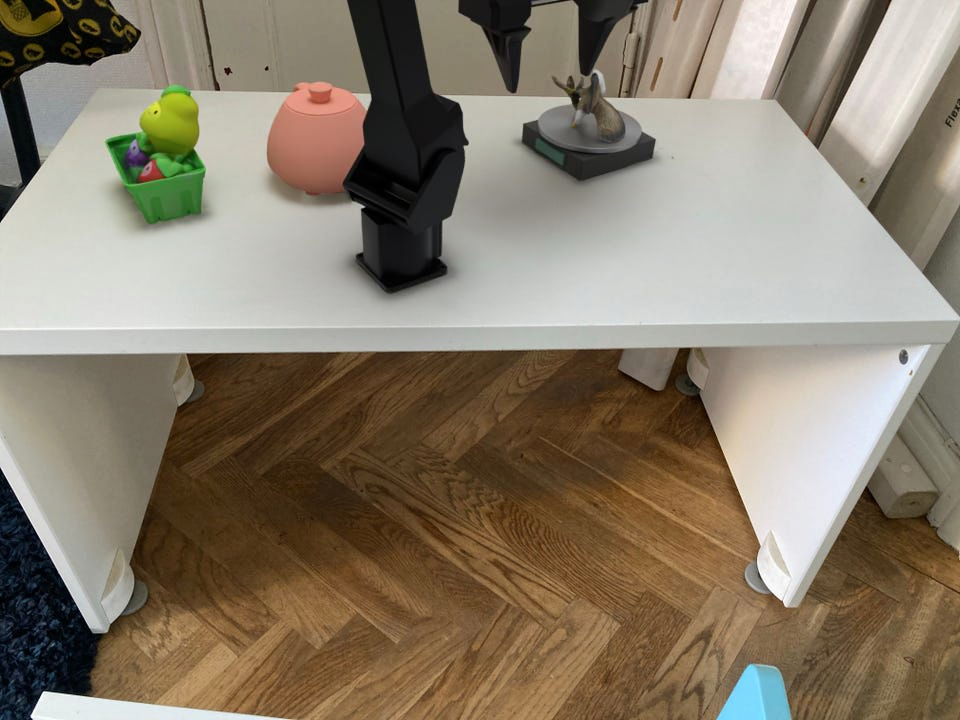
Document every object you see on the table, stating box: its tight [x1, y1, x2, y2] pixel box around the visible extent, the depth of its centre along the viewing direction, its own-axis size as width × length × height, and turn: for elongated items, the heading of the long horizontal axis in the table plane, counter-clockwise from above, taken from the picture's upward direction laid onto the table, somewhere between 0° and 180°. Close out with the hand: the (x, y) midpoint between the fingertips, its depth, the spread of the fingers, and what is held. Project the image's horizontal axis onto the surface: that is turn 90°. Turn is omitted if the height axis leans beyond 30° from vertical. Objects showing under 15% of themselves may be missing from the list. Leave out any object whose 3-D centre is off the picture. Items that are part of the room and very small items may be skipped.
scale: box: [521, 119, 657, 181], centre depth 96 cm, size 11×11×2 cm
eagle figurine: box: [551, 68, 626, 143], centre depth 93 cm, size 8×7×9 cm
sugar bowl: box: [266, 81, 367, 197], centre depth 87 cm, size 12×14×10 cm
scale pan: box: [537, 103, 643, 153], centre depth 95 cm, size 12×12×1 cm
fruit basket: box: [104, 84, 207, 225], centre depth 81 cm, size 11×9×11 cm
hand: (549, 83), depth 81 cm, fingers open, 9 cm apart
